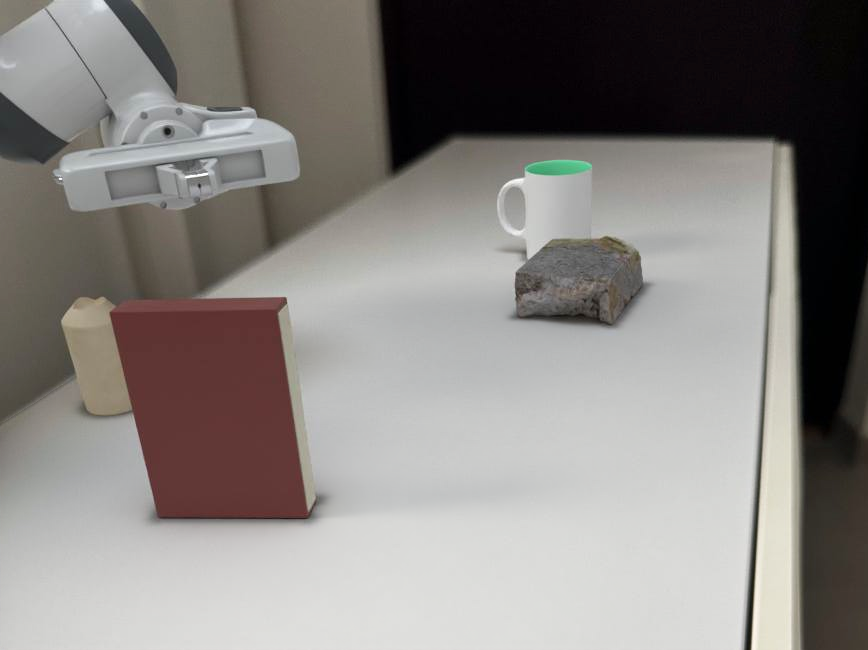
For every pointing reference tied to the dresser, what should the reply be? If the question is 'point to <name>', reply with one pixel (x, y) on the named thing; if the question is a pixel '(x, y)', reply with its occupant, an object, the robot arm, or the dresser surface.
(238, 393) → the book
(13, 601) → the dresser surface
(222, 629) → the dresser surface
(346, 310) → the dresser surface
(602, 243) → the geological specimen
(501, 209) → the mug
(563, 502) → the dresser surface
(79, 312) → the candle
